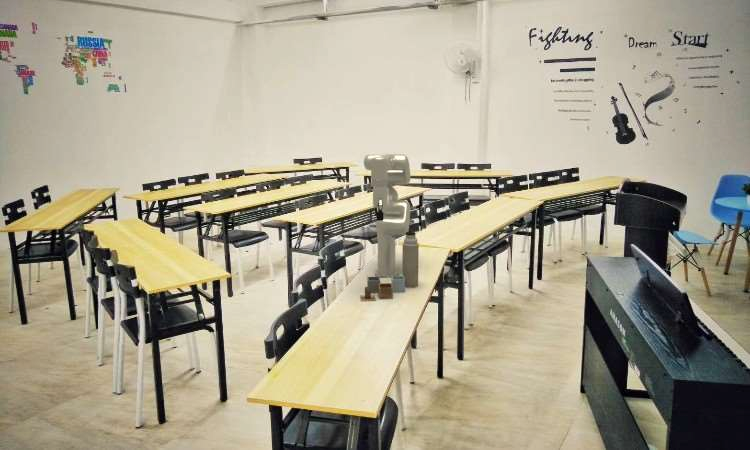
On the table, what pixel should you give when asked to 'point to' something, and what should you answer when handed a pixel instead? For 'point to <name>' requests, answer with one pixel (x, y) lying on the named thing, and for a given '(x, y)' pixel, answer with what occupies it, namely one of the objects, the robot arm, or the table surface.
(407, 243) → the thermos bottle
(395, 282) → the square blue-grey bin
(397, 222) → the robot arm
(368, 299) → the lid
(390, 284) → the oak box
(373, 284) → the grey open storage bin
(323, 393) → the table surface
